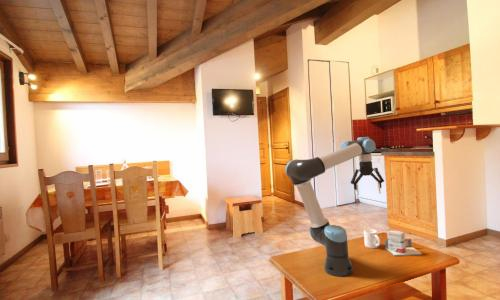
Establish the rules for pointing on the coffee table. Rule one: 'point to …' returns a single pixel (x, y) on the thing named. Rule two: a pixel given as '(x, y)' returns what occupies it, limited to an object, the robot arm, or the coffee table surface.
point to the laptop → (409, 249)
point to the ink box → (396, 241)
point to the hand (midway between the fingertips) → (368, 194)
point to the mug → (371, 238)
